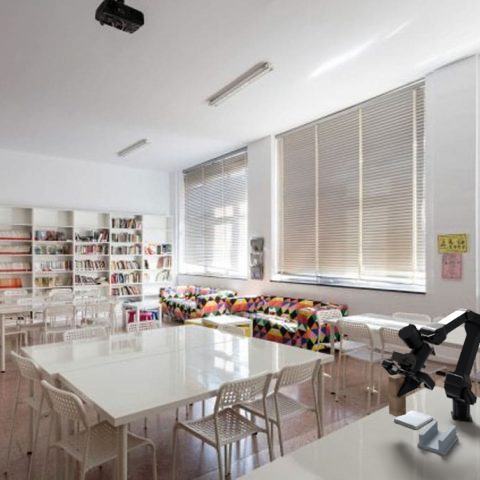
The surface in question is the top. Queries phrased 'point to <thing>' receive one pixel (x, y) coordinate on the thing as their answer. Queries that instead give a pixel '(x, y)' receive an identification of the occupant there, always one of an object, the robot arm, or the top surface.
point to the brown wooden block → (396, 403)
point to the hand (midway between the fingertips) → (394, 394)
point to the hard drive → (413, 419)
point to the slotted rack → (437, 438)
